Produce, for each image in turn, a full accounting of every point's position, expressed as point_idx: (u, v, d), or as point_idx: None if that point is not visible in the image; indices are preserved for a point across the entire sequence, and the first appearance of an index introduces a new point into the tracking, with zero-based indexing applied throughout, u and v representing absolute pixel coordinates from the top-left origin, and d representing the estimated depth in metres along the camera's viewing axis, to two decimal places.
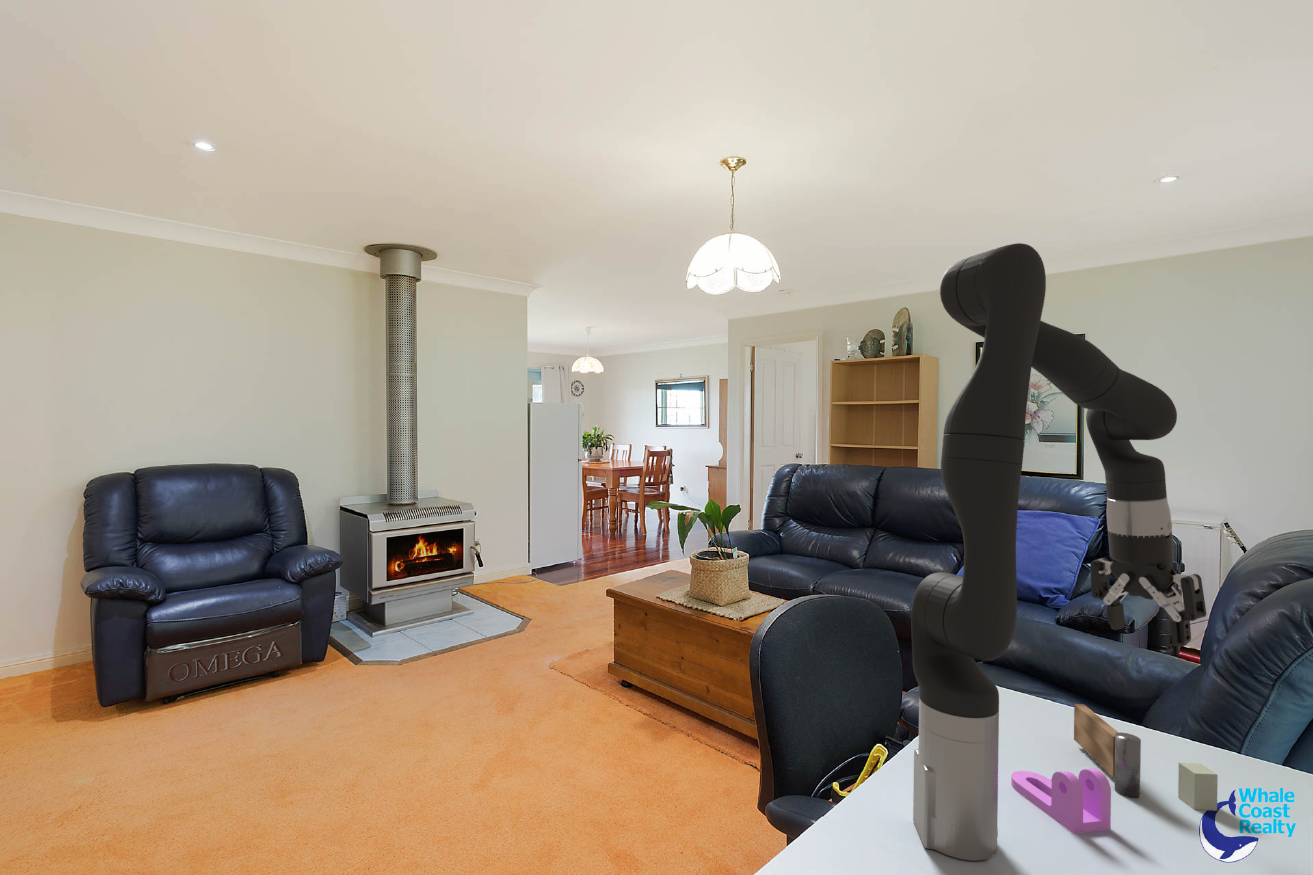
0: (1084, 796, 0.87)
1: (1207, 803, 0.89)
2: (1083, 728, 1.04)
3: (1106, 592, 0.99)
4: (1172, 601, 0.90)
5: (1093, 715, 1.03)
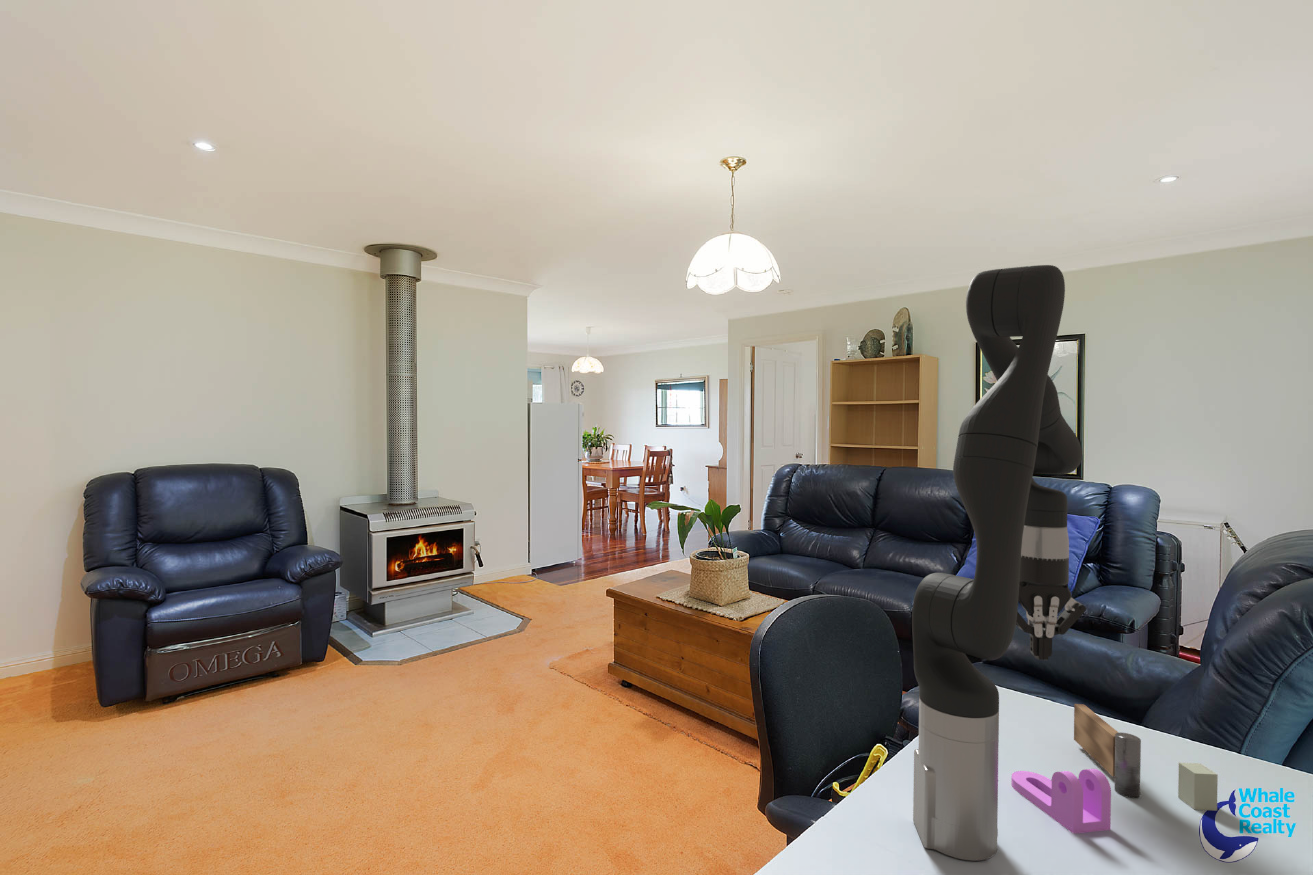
0: (1084, 796, 0.87)
1: (1207, 803, 0.89)
2: (1083, 728, 1.04)
3: (1030, 625, 1.06)
4: None
5: (1093, 715, 1.03)
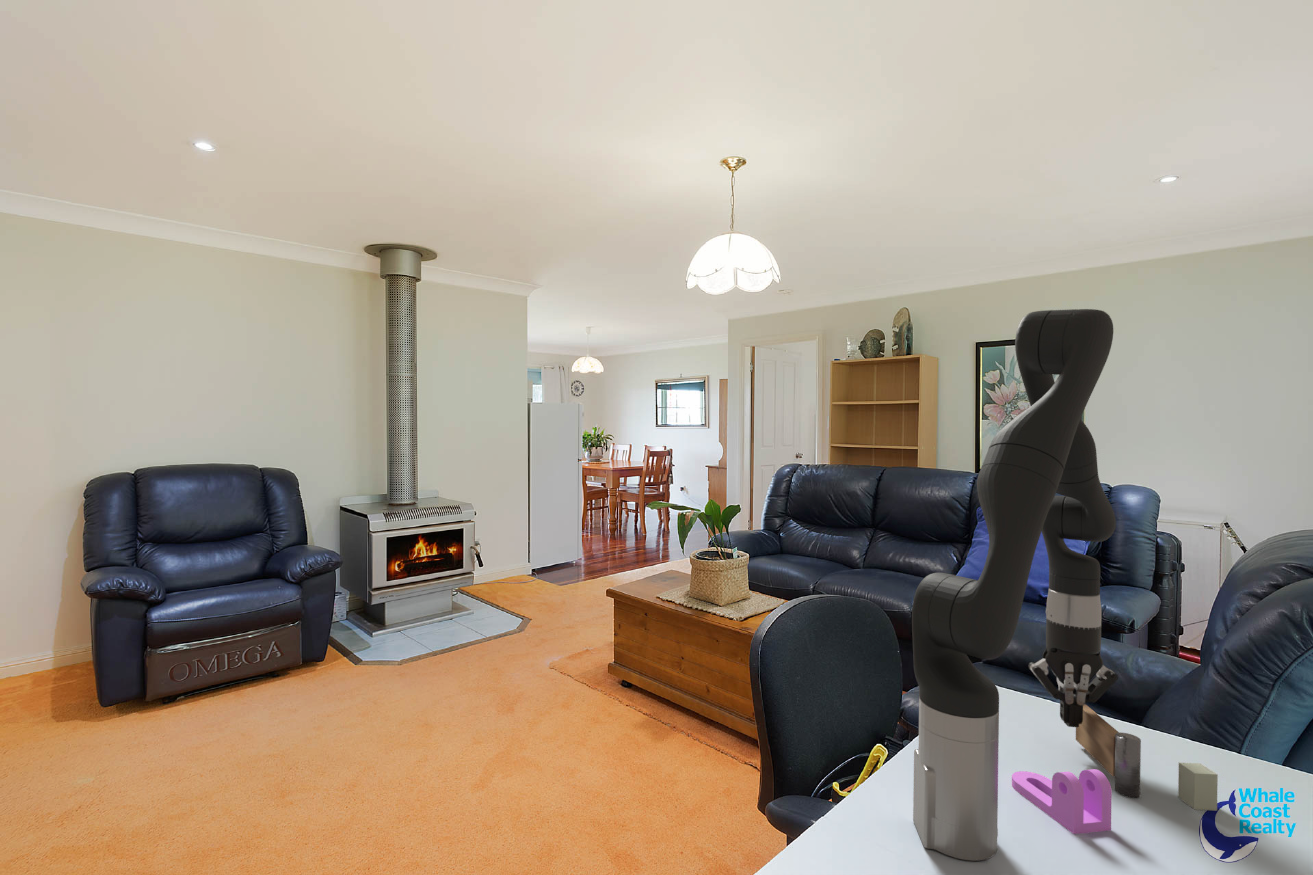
0: (1084, 797, 0.87)
1: (1207, 803, 0.89)
2: (1084, 728, 1.04)
3: (1060, 691, 1.05)
4: None
5: (1094, 715, 1.03)
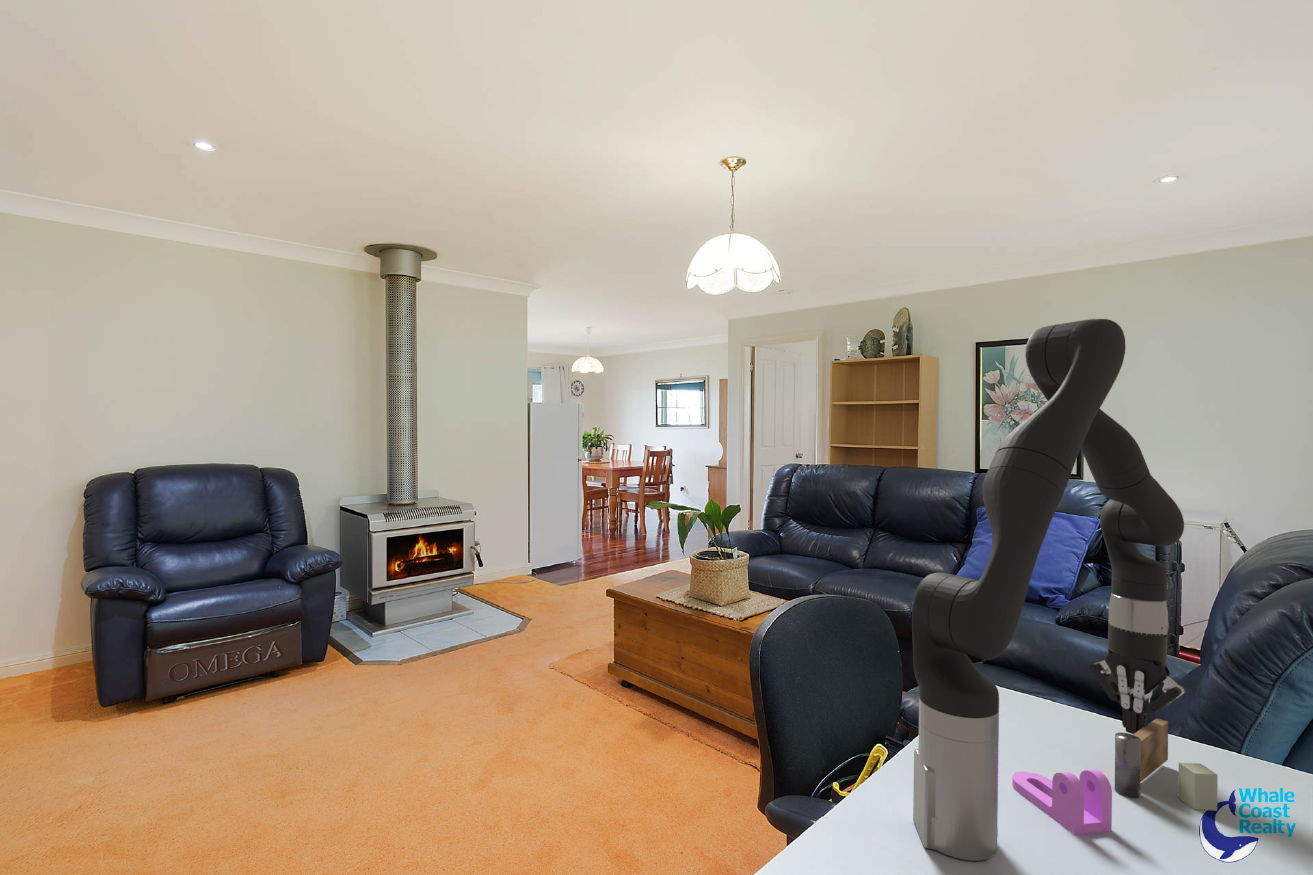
0: (1085, 797, 0.87)
1: (1207, 803, 0.89)
2: None
3: None
4: (1145, 697, 1.01)
5: (1151, 727, 0.99)
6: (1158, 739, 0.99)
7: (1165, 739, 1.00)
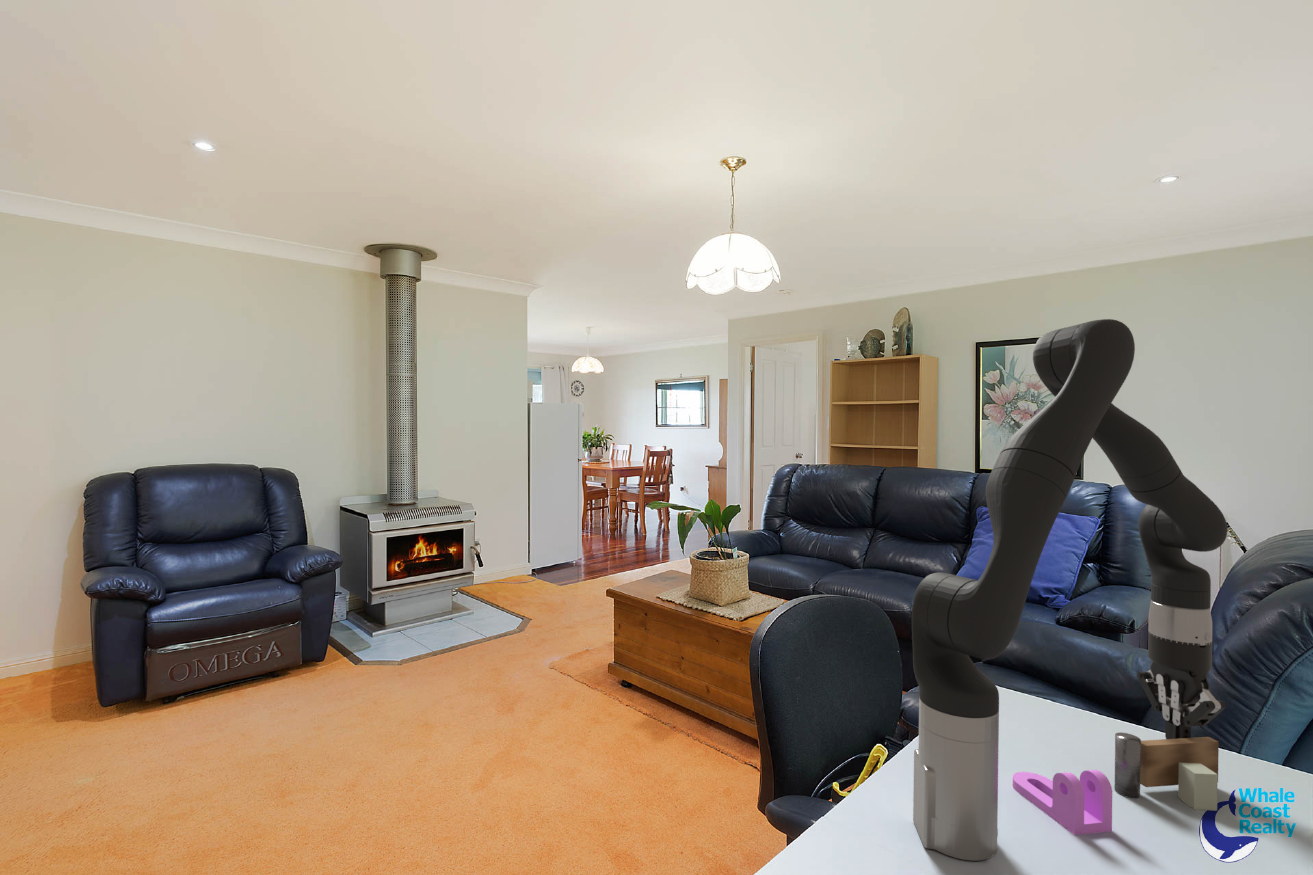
0: (1085, 798, 0.86)
1: (1207, 803, 0.89)
2: None
3: None
4: (1184, 710, 0.96)
5: (1186, 740, 0.95)
6: (1192, 754, 0.94)
7: (1211, 758, 0.94)
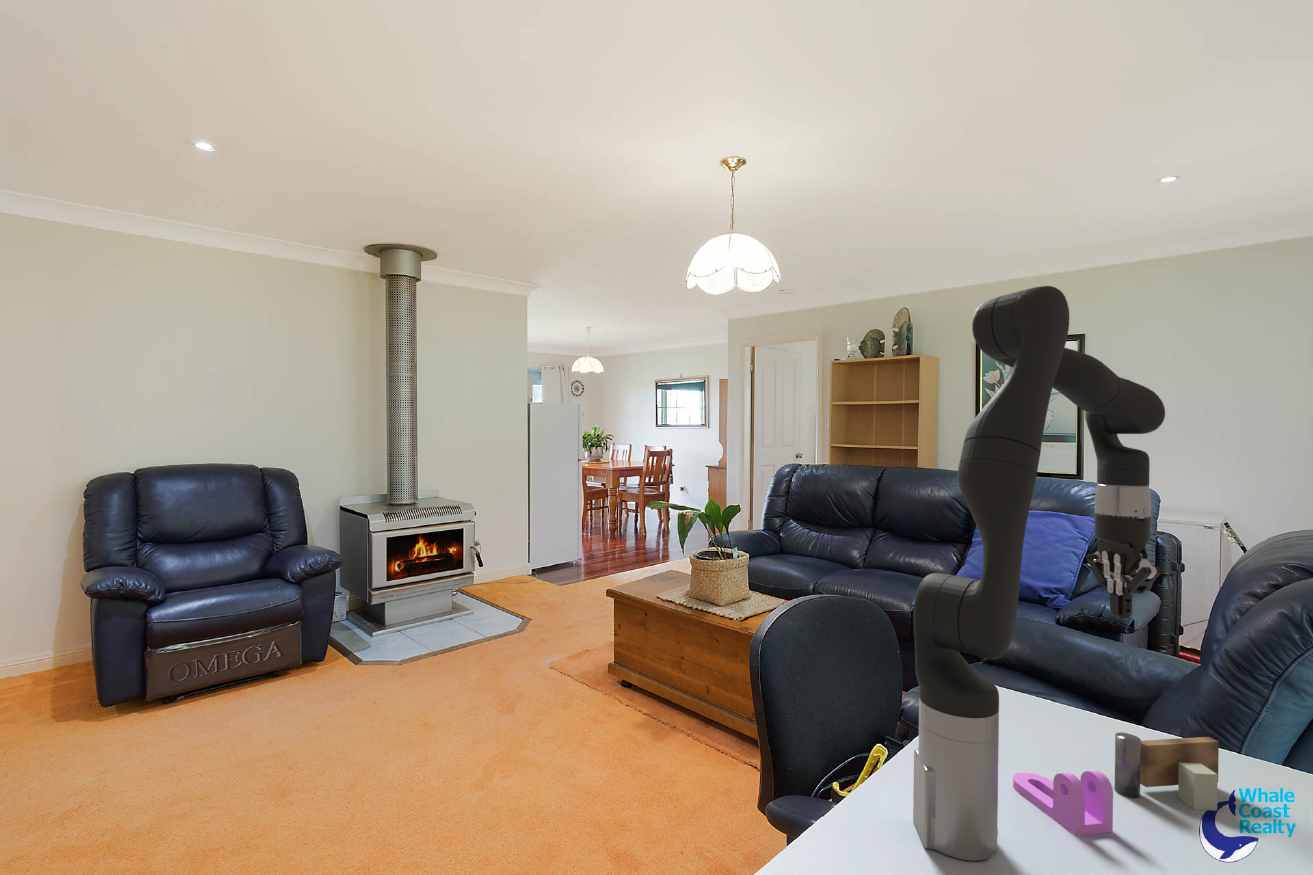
0: (1086, 798, 0.86)
1: (1207, 803, 0.89)
2: None
3: None
4: (1126, 580, 1.05)
5: (1186, 740, 0.95)
6: (1192, 754, 0.94)
7: (1211, 758, 0.94)
